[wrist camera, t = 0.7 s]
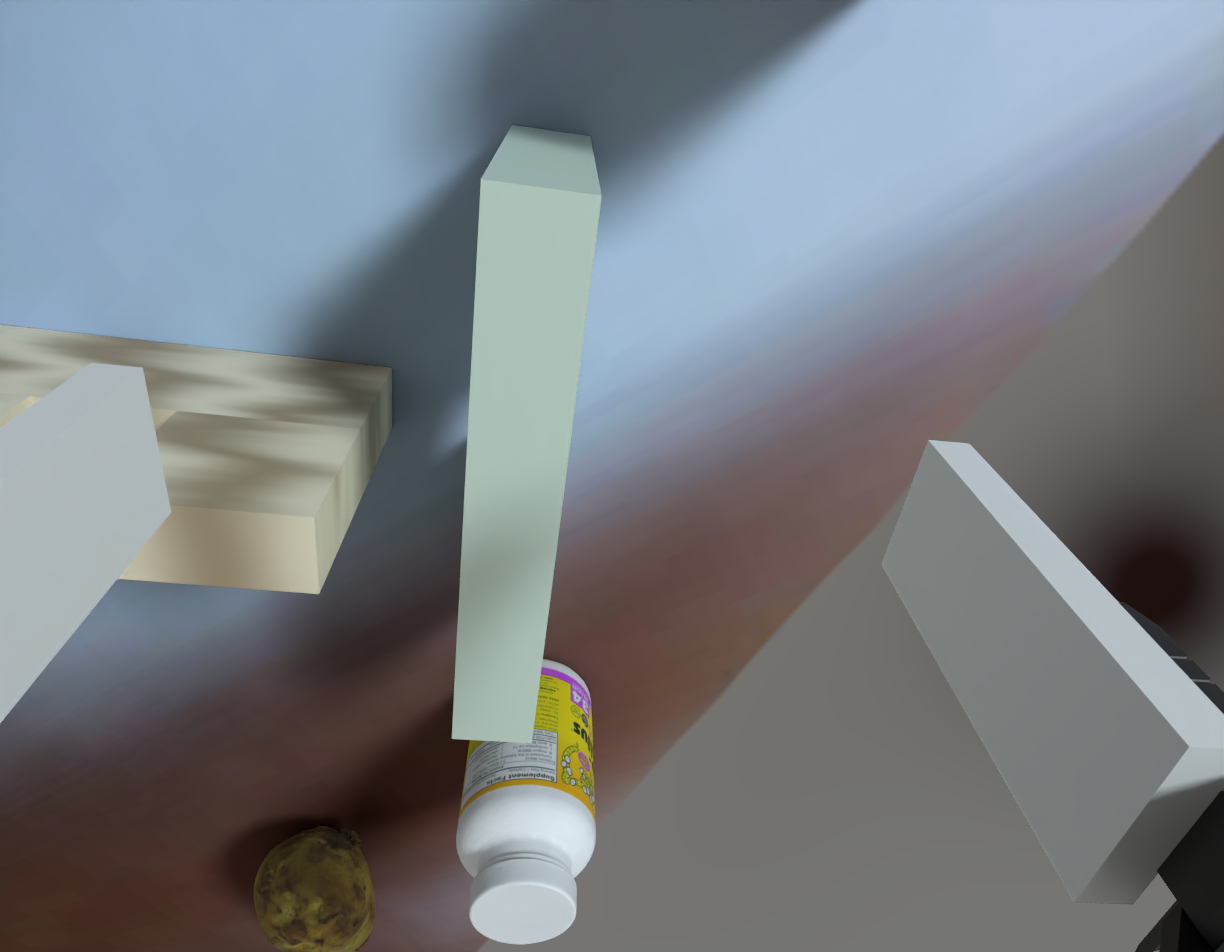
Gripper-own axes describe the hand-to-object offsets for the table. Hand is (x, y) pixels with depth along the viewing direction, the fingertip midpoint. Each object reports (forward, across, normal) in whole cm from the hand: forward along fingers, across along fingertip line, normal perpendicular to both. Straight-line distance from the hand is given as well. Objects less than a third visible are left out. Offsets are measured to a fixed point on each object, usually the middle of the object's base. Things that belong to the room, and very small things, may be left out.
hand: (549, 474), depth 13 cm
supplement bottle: (+21, +1, -27) cm, 34 cm away
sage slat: (+20, -1, -7) cm, 22 cm away
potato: (+20, -11, -42) cm, 48 cm away
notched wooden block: (+20, -16, -9) cm, 27 cm away
